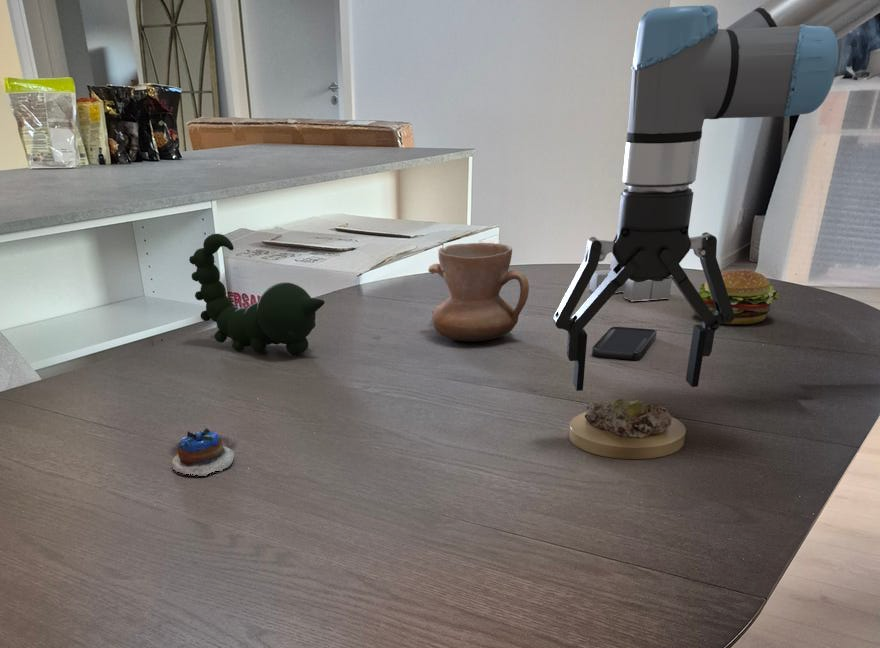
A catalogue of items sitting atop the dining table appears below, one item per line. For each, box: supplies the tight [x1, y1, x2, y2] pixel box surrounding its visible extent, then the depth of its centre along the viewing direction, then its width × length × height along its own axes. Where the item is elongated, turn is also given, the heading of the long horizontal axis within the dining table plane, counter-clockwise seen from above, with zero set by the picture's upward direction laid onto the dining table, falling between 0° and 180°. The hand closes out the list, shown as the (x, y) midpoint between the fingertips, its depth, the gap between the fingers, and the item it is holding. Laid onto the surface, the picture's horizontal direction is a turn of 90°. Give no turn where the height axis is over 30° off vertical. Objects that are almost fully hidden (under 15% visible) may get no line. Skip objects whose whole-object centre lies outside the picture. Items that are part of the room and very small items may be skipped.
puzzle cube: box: [589, 252, 673, 300], centre depth 167 cm, size 12×12×8 cm
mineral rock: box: [585, 398, 672, 438], centre depth 104 cm, size 11×4×8 cm
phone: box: [591, 326, 658, 361], centre depth 139 cm, size 8×1×15 cm
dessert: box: [171, 427, 235, 476], centre depth 102 cm, size 8×7×6 cm
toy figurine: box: [188, 233, 326, 356], centre depth 139 cm, size 9×19×25 cm
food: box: [698, 269, 780, 326], centre depth 150 cm, size 14×14×8 cm
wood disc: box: [568, 411, 687, 460], centre depth 105 cm, size 14×14×2 cm
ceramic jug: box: [427, 242, 530, 343], centre depth 143 cm, size 18×14×14 cm
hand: (634, 385), depth 102 cm, fingers open, 13 cm apart
